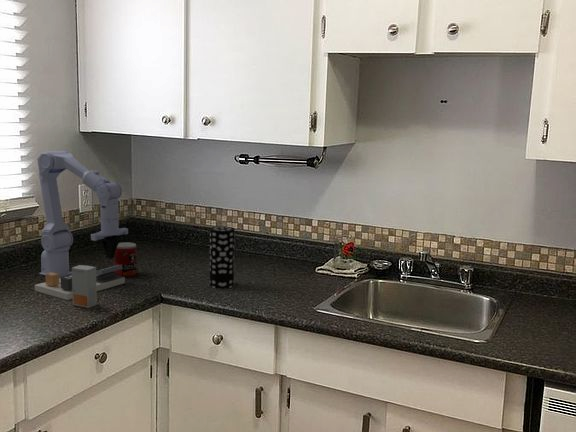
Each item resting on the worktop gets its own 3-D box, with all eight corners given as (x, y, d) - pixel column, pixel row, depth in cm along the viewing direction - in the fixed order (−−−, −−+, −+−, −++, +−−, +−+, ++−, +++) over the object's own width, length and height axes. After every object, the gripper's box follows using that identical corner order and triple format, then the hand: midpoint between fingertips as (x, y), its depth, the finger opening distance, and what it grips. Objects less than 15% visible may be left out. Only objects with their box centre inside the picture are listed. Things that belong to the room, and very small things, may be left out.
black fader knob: (60, 288, 197) (60, 277, 197) (67, 286, 199) (67, 275, 199) (68, 290, 195) (67, 279, 195) (74, 288, 197) (74, 277, 197)
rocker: (88, 277, 209) (87, 272, 209) (109, 271, 217) (108, 267, 217) (102, 274, 206) (101, 269, 206) (122, 268, 213) (121, 264, 213)
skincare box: (72, 305, 188) (70, 267, 186) (81, 301, 192) (80, 264, 190) (88, 308, 186) (87, 270, 184) (97, 304, 190) (96, 266, 188)
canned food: (124, 278, 219) (123, 248, 217) (110, 274, 224) (109, 244, 222) (141, 274, 225) (141, 244, 223) (127, 270, 230) (126, 241, 228)
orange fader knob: (45, 284, 201) (45, 273, 200) (52, 282, 203) (51, 271, 202) (52, 286, 199) (52, 275, 199) (59, 284, 201) (58, 273, 201)
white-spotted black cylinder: (220, 280, 220) (221, 225, 216) (238, 285, 215) (239, 228, 212) (204, 285, 213) (204, 228, 210) (222, 290, 209) (223, 232, 205)
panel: (34, 290, 202) (34, 279, 201) (93, 275, 222) (92, 264, 221) (67, 300, 193) (67, 288, 193) (125, 282, 214) (124, 272, 213)
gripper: (101, 223, 199) (101, 264, 201) (134, 217, 211) (134, 255, 213) (86, 220, 202) (87, 260, 205) (119, 214, 214) (120, 252, 217)
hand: (110, 258), depth 209 cm, fingers closed
